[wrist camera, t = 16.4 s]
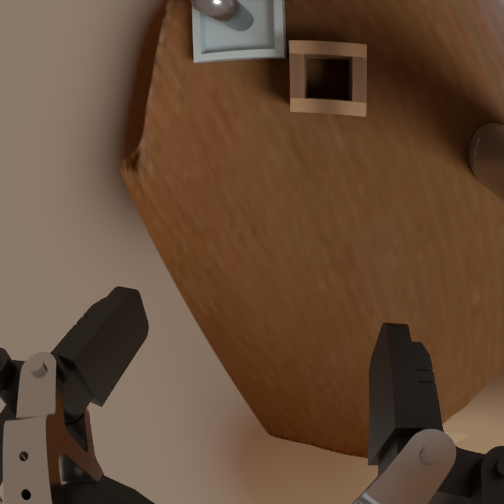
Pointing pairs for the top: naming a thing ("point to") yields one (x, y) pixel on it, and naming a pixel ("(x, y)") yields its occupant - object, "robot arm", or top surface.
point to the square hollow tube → (328, 51)
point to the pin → (226, 13)
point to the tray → (242, 35)
